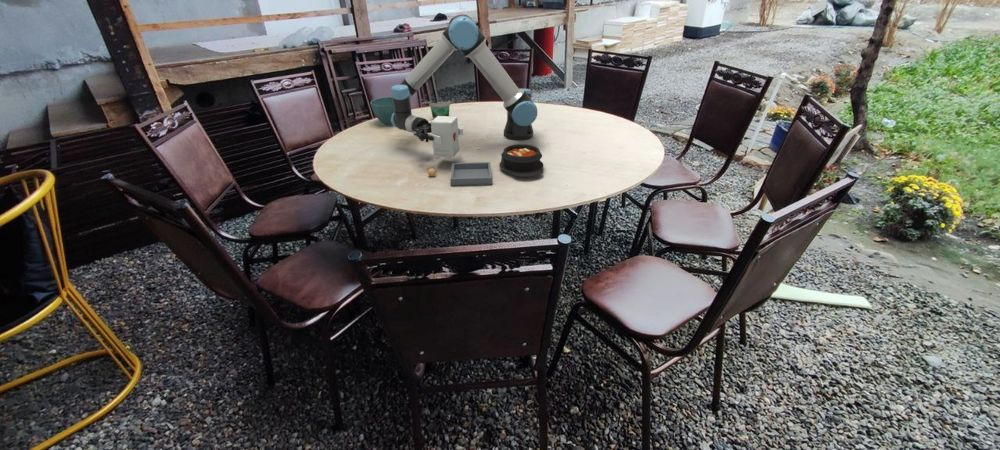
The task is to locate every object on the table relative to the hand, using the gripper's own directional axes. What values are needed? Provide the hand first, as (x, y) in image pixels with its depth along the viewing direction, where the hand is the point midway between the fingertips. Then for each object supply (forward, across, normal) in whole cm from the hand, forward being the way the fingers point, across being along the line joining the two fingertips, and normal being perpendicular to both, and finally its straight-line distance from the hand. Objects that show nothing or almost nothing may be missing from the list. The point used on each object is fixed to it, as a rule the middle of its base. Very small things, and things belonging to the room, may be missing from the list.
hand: (451, 136), depth 172 cm
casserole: (+23, -17, -14) cm, 32 cm away
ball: (+1, +13, -13) cm, 18 cm away
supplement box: (-4, 0, -9) cm, 10 cm away
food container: (-54, -42, -14) cm, 69 cm away
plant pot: (-70, -18, -13) cm, 74 cm away
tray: (+13, +3, -14) cm, 19 cm away
